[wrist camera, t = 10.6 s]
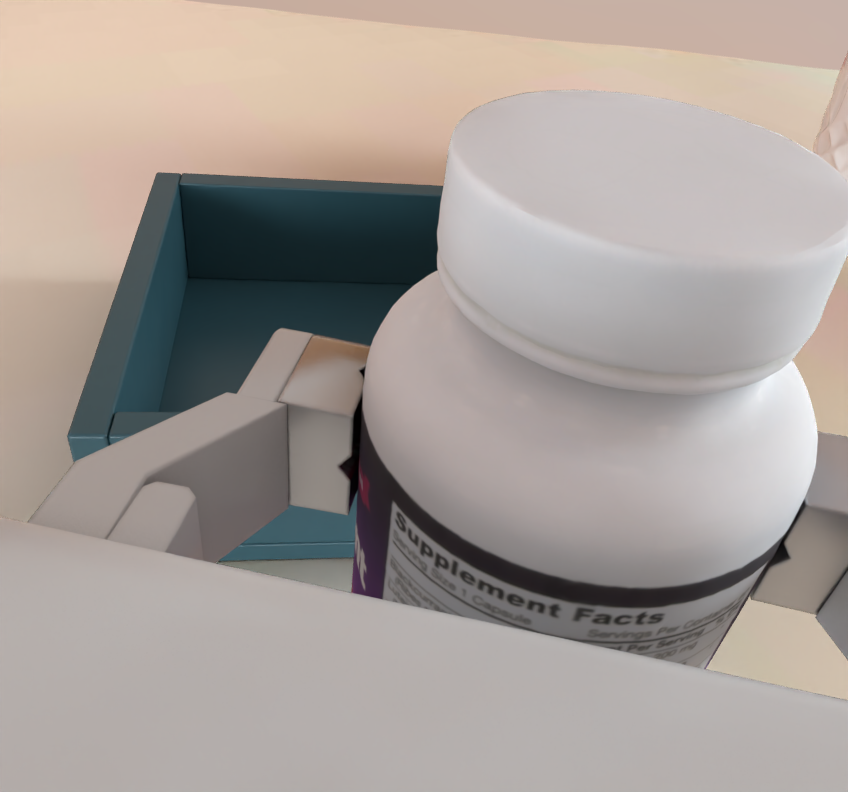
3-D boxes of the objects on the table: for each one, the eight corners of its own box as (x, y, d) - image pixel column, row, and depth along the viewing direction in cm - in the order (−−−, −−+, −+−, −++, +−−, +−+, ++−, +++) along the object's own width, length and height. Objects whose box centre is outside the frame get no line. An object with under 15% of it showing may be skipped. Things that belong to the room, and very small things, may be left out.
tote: (587, 292, 30) (615, 193, 28) (717, 548, 21) (778, 434, 18) (169, 280, 28) (156, 171, 25) (97, 564, 18) (65, 436, 16)
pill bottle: (426, 526, 17) (500, 38, 10) (678, 637, 15) (940, 142, 9) (280, 747, 13) (261, 172, 6) (601, 928, 11) (973, 400, 5)
